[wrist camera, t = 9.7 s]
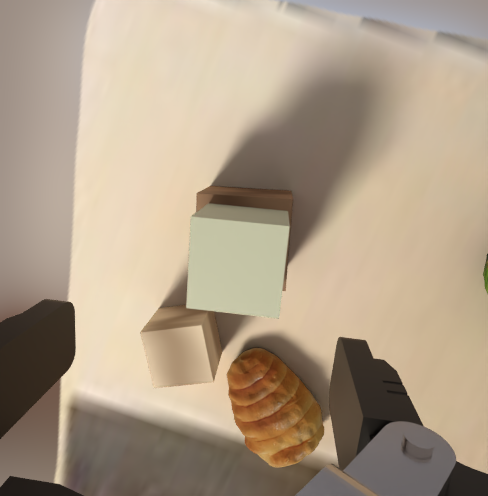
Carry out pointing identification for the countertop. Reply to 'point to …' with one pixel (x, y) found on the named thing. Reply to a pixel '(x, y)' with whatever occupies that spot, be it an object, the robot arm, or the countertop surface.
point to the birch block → (182, 346)
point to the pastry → (273, 408)
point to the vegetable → (486, 274)
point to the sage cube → (237, 260)
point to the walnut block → (249, 203)
